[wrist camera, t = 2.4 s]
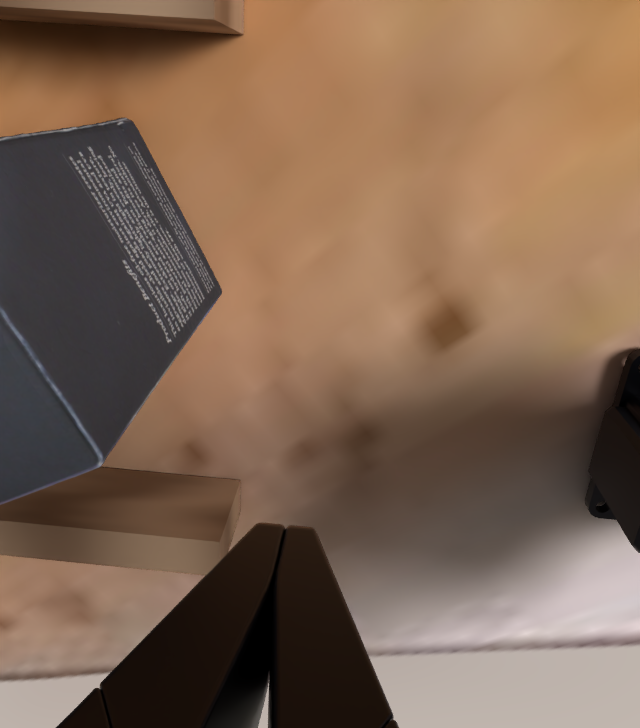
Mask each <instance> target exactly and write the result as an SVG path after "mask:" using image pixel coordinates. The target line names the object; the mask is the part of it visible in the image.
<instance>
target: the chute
mask: <svg viewBox="0 0 640 728" xmlns="http://www.w3.org/2000/svg"><path fill="white" fill-rule="evenodd" d="M0 20H15V21H32V22H48V23H64V24H80V25H96V26H112V27H128V28H144V29H161V30H177V31H193V32H209V33H225V34H241V35H244V0H0ZM239 515H240V480H232V479H222V478H211V477H200V476H190V475H179V474H168V473H158V472H147V471H136V470H126V469H115V468H104V467H99V468H96V469H94V470H91V471H89V472H86V473H84V474H81V475H79V476H76V477H73V478H70V479H67V480H64V481H62V482H59V483H57V484H54V485H52V486H49V487H47V488H44V489H41V490H39V491H36V492H33V493H31V494H28V495H25V496H23V497H20V498H17V499H15V500H12V501H9V502H7V503H4V504H1V505H0V555H7V556H17V557H27V558H37V559H47V560H57V561H66V562H76V563H86V564H96V565H106V566H116V567H126V568H136V569H146V570H156V571H166V572H175V573H185V574H195V575H205V576H206V575H207V574H208V573H209V572H210V571H211V570H212V569H213V568H214V567H215V566H216V565H217V564H218V562H219V561H220V560H221V559H222V558H223V557H224V556H225V555H226V554H227V553H228V550H229V547H230V544H231V540H232V537H233V534H234V531H235V528H236V524H237V521H238V518H239Z"/></svg>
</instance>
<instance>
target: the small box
mask: <svg viewBox="0 0 640 728" xmlns="http://www.w3.org/2000/svg"><path fill="white" fill-rule="evenodd" d="M221 294H222V290H221V288H220V285H219V283H218V281H217V280H216V278H215V276H214V273H213V271H212V269H211V268H210V266H209V264H208V262H207V260H206V258H205V256H204V254H203V252H202V250H201V248H200V246H199V245H198V243H197V241H196V239H195V237H194V235H193V233H192V231H191V229H190V227H189V225H188V223H187V222H186V220H185V218H184V216H183V214H182V212H181V210H180V208H179V206H178V204H177V203H176V201H175V199H174V197H173V195H172V193H171V191H170V190H169V188H168V186H167V184H166V182H165V180H164V178H163V176H162V175H161V173H160V171H159V169H158V167H157V165H156V163H155V161H154V159H153V157H152V155H151V153H150V152H149V150H148V148H147V146H146V144H145V142H144V140H143V138H142V137H141V135H140V133H139V130H138V129H137V127H136V126H135V124H134V123H133V121H131V120H129V119H127V118H119V119H116V120H112V121H106V122H102V123H96V124H92V125H83V126H80V127H70V128H62V129H58V130H51V131H41V132H36V133H28V134H18V135H15V136H8V137H0V505H1V504H4V503H7V502H9V501H12V500H15V499H17V498H20V497H23V496H25V495H28V494H31V493H33V492H36V491H39V490H41V489H44V488H47V487H49V486H52V485H54V484H57V483H59V482H62V481H64V480H67V479H70V478H73V477H76V476H79V475H81V474H84V473H86V472H89V471H91V470H94V469H96V468H99V467H101V465H102V464H103V463H104V461H105V459H106V458H107V456H108V454H109V453H110V451H111V450H112V449H113V448H114V446H115V445H116V443H117V442H118V440H119V439H120V437H121V436H122V434H123V433H124V431H125V430H126V429H127V427H128V426H129V424H130V423H131V422H132V420H133V419H134V417H135V416H136V414H137V413H138V412H139V410H140V409H141V407H142V406H143V404H144V403H145V401H146V400H147V398H148V397H149V395H150V394H151V393H152V391H153V390H154V388H155V387H156V386H157V384H158V383H159V381H160V380H161V378H162V377H163V376H164V374H165V373H166V371H167V370H168V369H169V367H170V366H171V364H172V363H173V361H174V360H175V358H176V357H177V355H178V354H179V353H180V351H181V350H182V349H183V347H184V346H185V344H186V343H187V342H188V340H189V339H190V337H191V336H192V334H193V333H194V332H195V330H196V329H197V327H198V326H199V325H200V324H201V322H202V321H203V319H204V318H205V317H206V315H207V314H208V312H209V311H210V310H211V308H212V307H213V305H214V304H215V303H216V301H217V300H218V298H219V297H220V295H221Z"/></svg>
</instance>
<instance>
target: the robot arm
mask: <svg viewBox="0 0 640 728" xmlns="http://www.w3.org/2000/svg"><path fill="white" fill-rule="evenodd" d="M639 365H640V349H638V350H636V351H634V352H632V353H631V354H630V355H629V356H628V358H627V360H626V362H625V366H624V369H623V372H622V376H621V379H620V383H619V386H618V389H617V393H616V396H615V400H614V403H613V406H612V407H610V408H609V409H608V410H607V411H606V412H605V414H604V418H603V421H602V425H601V428H600V432H599V435H598V439H597V442H596V446H595V449H594V452H593V456H592V459H591V463H590V466H589V474H590V476H591V477H592V478H591V481H590V485H589V488H588V491H587V495H586V498H585V504H586V506H587V508H588V510H589V512H590V514H591V515H593V516H594V517H597V518H603V519H614V520H617V521H618V523H619V525H620V526H621V528H622V530H623V531H624V533H625V535H626V536H627V538H628V540H629V542H630V543H631V545H632V546H633V547H634V548H635V549H636V551H637V552H638V553H640V370H638V366H639ZM601 501H606V502H605V504H603V505H601V506H596V505H597V504H598V503H599V502H601ZM268 683H269V705H268V728H399V727H398V724H397V722H396V721H395V720H393V713H392V711H391V708H390V706H389V704H388V701H387V699H386V697H385V694H384V692H383V689H382V687H381V685H380V682H379V680H378V678H377V676H376V673H375V671H374V668H373V666H372V663H371V661H370V659H369V656H368V654H367V651H366V649H365V647H364V644H363V642H362V640H361V637H360V635H359V632H358V630H357V628H356V625H355V623H354V621H353V618H352V616H351V613H350V611H349V609H348V606H347V604H346V602H345V599H344V597H343V594H342V592H341V590H340V587H339V585H338V582H337V580H336V578H335V575H334V573H333V571H332V568H331V566H330V563H329V561H328V559H327V556H326V554H325V552H324V549H323V547H322V544H321V542H320V540H319V537H318V535H317V533H316V531H315V529H313V528H311V527H303V526H292V525H291V526H288V527H287V528H286V530H285V527H284V526H283V525H281V524H271V523H258V524H256V525H255V526H254V527H253V528H252V529H251V530H250V531H249V532H248V533H247V534H246V535H245V536H244V537H243V538H242V539H241V540H240V541H239V542H238V543H237V544H236V545H235V546H234V547H233V548H232V549H231V550H230V551H229V552H228V553H227V554H226V555H225V556H224V557H223V558H222V559H221V560H220V561H219V562H218V564H217V565H216V566H215V567H214V568H213V569H212V570H211V571H210V572H209V573H208V574H207V575H206V576H205V577H204V578H203V579H202V580H201V581H200V582H199V583H198V584H197V585H196V586H195V587H194V588H193V589H192V590H191V591H190V592H189V593H188V594H187V595H186V596H185V597H184V598H183V599H182V600H181V601H180V602H179V603H178V604H177V605H176V606H175V607H174V609H173V610H172V611H171V612H170V613H169V614H168V615H167V616H166V617H165V618H164V619H163V620H162V621H161V622H160V623H159V624H158V625H157V626H156V627H155V628H154V629H153V630H152V631H151V632H150V633H149V634H148V635H147V636H146V637H145V638H144V639H143V640H142V641H141V642H140V643H139V644H138V645H137V646H136V647H135V648H134V649H133V650H132V651H131V653H130V654H129V655H128V656H127V657H126V658H125V659H124V660H123V661H122V662H121V663H120V664H119V665H118V666H117V667H116V668H115V669H114V670H113V671H112V672H111V673H110V674H109V675H108V676H107V677H106V678H105V679H104V680H103V681H102V682H101V684H100V689H99V688H95V689H94V690H93V691H92V692H91V693H90V694H89V695H88V696H87V697H86V698H85V699H84V700H83V701H82V702H81V703H80V704H79V705H78V706H77V707H76V708H75V709H74V711H72V712H71V713H70V715H68V716H67V717H66V718H65V719H64V720H63V721H62V722H61V723H60V724H59V725H58V726H57V727H56V728H258V724H259V720H260V717H261V713H262V708H263V705H264V701H265V697H266V692H267V688H268Z"/></svg>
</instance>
